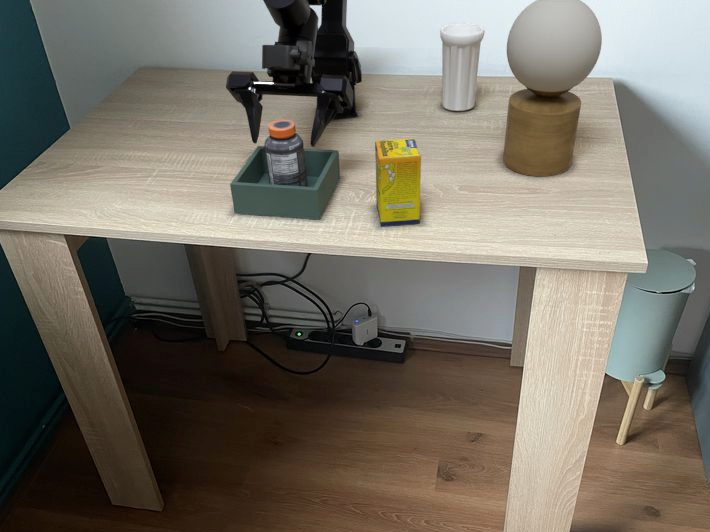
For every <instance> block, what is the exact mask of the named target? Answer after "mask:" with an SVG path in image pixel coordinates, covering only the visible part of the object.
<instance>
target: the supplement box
mask: <svg viewBox="0 0 710 532" xmlns="http://www.w3.org/2000/svg"><path fill="white" fill-rule="evenodd" d="M374 151H375V152H374V154H375V155H374V156H375V195H376V200H375V201H376V202H375V203H376V209H377V213H378V217H379V224H380V226H381V227H382V228H383V227H394V226H395V227H396V226H407V225H409V226H410V225H418V224H420V223H421V178H422V177H421V176H422V175H421V173H422V156H421V154H420V152H419V151H420V150H419V148H418V143H417V140H416V138H414V137H411V138H399V139H397V138H396V139H382V140H375V141H374Z"/></svg>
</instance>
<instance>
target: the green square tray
mask: <svg viewBox="0 0 710 532" xmlns="http://www.w3.org/2000/svg"><path fill="white" fill-rule="evenodd" d="M339 152H340V151H339V150H338V149H319V148H305V147H304V157H305V168H306V178H307V187H303V186H288V185H272V184H269V176H268V170H267V162H266V155H265V147H264V145H257V146H256V148H255V149H254V150H253V152H252V153H251V155H250V156H249V157H248V159H247V160H246V162H245V164H243V166H242V167H241V168H240V170H239V171H238V172H237V174H236V175H235V177H234V178H233V179H232V181H231V182H230V184H229V186H230V192H231V198H232V205H233V211H234V214H235V215H247V216H249V215H250V216H262V217H276V218H289V219H300V220H301V219H302V220H317V221H320V220H321V219H322V217H323V214H324V213H325V211H326V208H327V206H328V205H329V202H330V201H331V199H332V196H333V195H334V192H335V190H336V188H337V186H338V184H339V182H340V180H341V171H340V170H341V169H340V153H339Z"/></svg>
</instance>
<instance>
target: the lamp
mask: <svg viewBox="0 0 710 532" xmlns="http://www.w3.org/2000/svg"><path fill="white" fill-rule="evenodd" d="M602 36H603V35H602V30H601V25H600V22H599V19H598V17H597V16H596V14H595V12H594V11H593V9H591V8H590V6H589V5H587V4H586V3H585V2H584V1H582V0H534V1H532V2H531V3H530V4H528V5H527V6H526V7H525V8H524V9H522V11H521V12H520V13H519V14H518V15H517V16H516V18H515V20H514V22H513V23H512V25H511V28H510V30H509V32H508V35H507V41H506V58H507V63H508V66H509V70H510V71H511V73H512V75H513V77H514V78H515V79H516V80H517V81H518V82H519V83H520V84H521V85H522V86H524V87H525V88H524V89H520V90H517V91H515V92H513V93H512V94H511V95H510V96H509V98H508V105H507V113H506V114H507V115H506V124H505V134H504V135H505V137H504V145H503V155H502V160H503V164H504V165H505V167H506V168H508V169H509V170H511V171H513V172H515V173H518V174H520V175H525V176H529V177H551V176H556V175H560V174H562V173H564V172H566V171H568V170H569V169H570V168H571V166H572V162H573V156H574V151H575V145H576V137H577V132H578V126H579V120H580V114H581V109H582V99H581V98H580V97H579V96H578V95H577V94H575V93H573V92H571V90H572V89H574V88H575V87H577V86H579V85H580V84H581V83H582V82H583V81H584V80H585V79H586V78H588V76H589V75H590V74H591V73H592V71H594V70H593V69H594V68H595V66H596V65H597V62H598V60H599V57H600V54H601V50H602V43H603V38H602Z"/></svg>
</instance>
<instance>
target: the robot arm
mask: <svg viewBox="0 0 710 532" xmlns="http://www.w3.org/2000/svg"><path fill="white" fill-rule="evenodd" d="M262 1H263V3H264V5H265V7H266V9H267V10H268V12H269V15H270V17H271V18H272V20H273V22H274V23H275V24H276V25H277V26H278V27H279V30H278V37H277V41H275V42H274V44H262V45H261V46H262V47H261V48H262V49H261V55H262V56H261V69H263V70H266V69H267V70H266V74H267V76H268V77H269V78H272V81H270V80H269V81H268V80H259V79H258V77H257V75H256V74H255V72H254V71H231V72H230V73H229V74H228V76H227V77H226V83H225V89H226V90H227V91H228V92H229V94H230V95H231V96H232V97H233V98H234V100H235V101H236V103H238V104H239V103H240V104H241V106H242V107H243V108H244V111H245V113H246V118H247V123H248V127H249V132H250V137H251V142H252V143H253V144H257V143H258V140H259V137H260V129H261V124H262V123H261V122H262V116H263V108H264V106H263V105H262V103H261V101H262V100H263V96H264V95H265V96H287V97H288V96H289V97H311V98H316V108H315V113H314V118H313V124H312V128H311V133H310V142H309V143H310V146H311V147H312V148H314V147H315V146H316V145H317V144H318V142H319V140H320V138H321V137H322V135H323V134H324V132H325V130H326V129H327V127H328V126H329V124H330V123H331V122H332V120H338V119H347V118H353V117H358V115H359V114H358V112H357V109H356V89H355V86H357V84H360V83H362V82H363V74H362V73H363V72H362V65H361V61H360V59H359V57H358V54H357V51H355V41H354V39H353V36H351V33H350V31H349V29H348V27H347V14H348V13H347V10H348V0H262ZM311 6H320V7H321V12H320V13H321V14H320V15H321V16H320V17H321V19H319V15H318V14H317V12H316V11H315V10H314V9H313V8H312V7H311ZM319 20H320V21H321V22H320V25H319Z"/></svg>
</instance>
